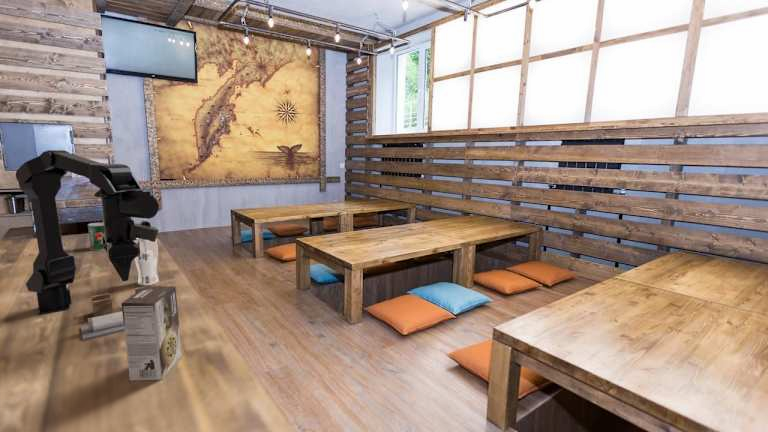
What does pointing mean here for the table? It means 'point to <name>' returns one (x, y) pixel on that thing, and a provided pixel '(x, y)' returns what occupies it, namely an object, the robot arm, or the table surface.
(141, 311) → the coffee box
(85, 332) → the mat
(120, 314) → the rail
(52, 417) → the table surface
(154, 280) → the beer glass
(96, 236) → the canned tomato
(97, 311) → the post left
